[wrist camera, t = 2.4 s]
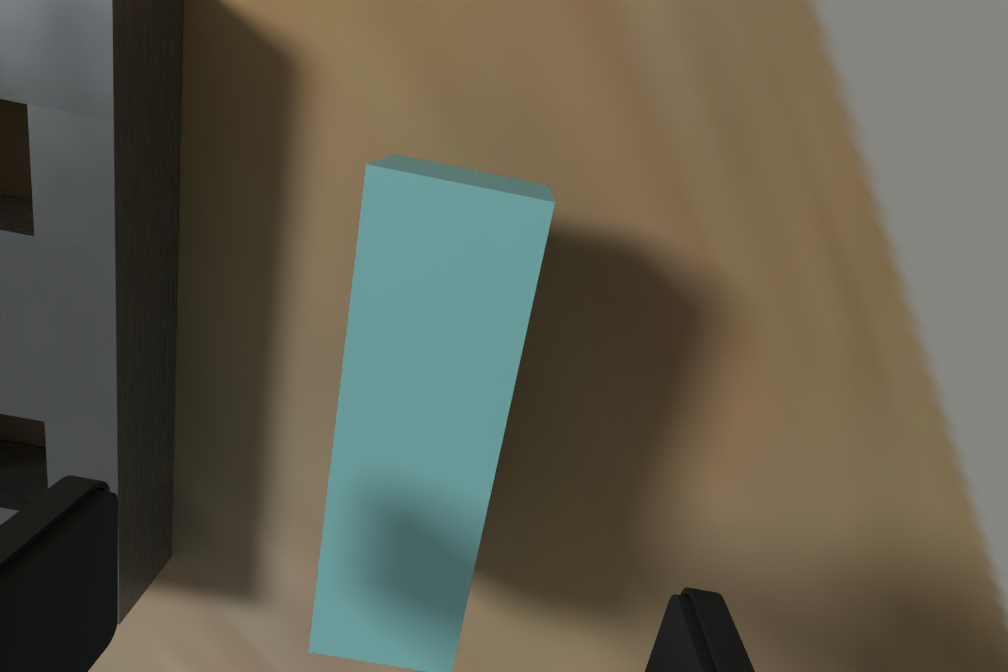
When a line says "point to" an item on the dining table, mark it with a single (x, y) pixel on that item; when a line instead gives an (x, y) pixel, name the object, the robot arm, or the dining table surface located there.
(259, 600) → the dining table surface
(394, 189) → the clip
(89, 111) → the rail
